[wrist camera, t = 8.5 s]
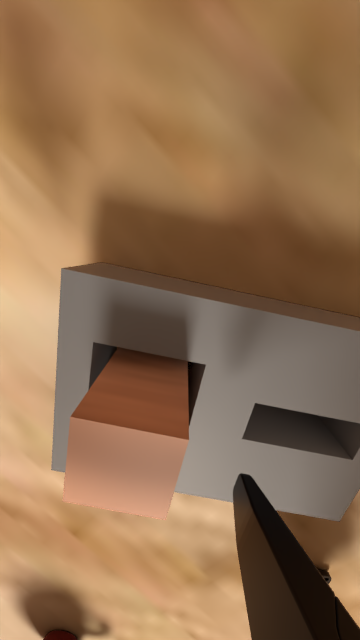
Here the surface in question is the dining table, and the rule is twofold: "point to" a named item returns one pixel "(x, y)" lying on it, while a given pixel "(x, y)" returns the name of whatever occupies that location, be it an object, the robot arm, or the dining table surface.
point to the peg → (130, 435)
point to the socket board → (226, 381)
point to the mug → (59, 635)
